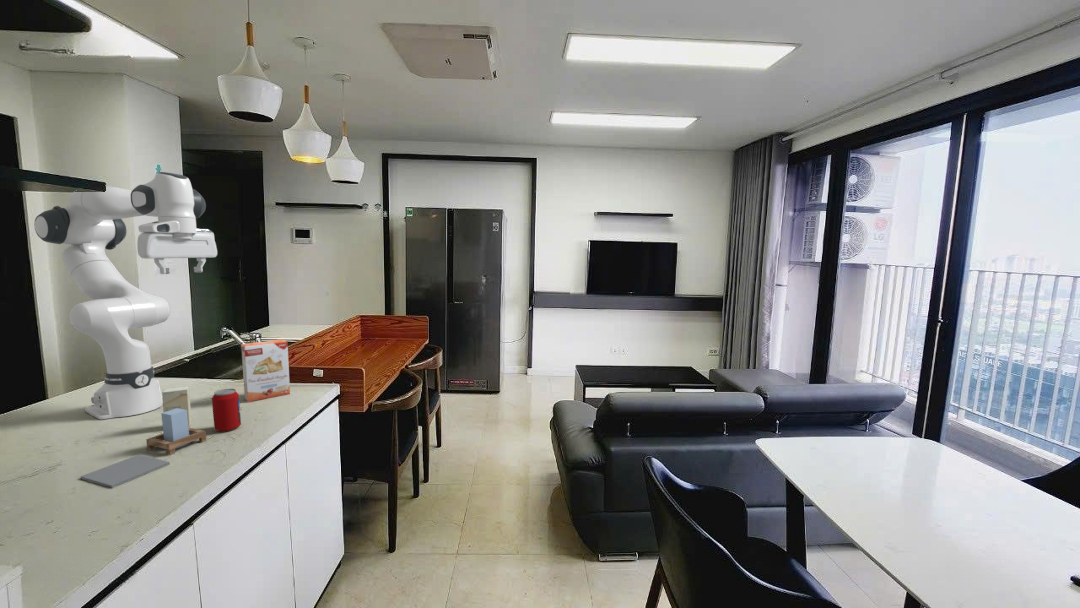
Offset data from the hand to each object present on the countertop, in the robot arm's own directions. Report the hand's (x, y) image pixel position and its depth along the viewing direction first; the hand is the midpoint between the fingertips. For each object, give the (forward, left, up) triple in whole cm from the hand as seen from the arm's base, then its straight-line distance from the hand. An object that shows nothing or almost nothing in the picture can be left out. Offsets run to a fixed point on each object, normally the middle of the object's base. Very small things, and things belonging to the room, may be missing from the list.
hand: (182, 273), depth 133 cm
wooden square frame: (+12, -13, -48) cm, 51 cm away
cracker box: (-1, +26, -48) cm, 55 cm away
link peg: (+12, -13, -48) cm, 51 cm away
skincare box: (-2, -4, -48) cm, 48 cm away
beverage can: (+14, 0, -48) cm, 50 cm away
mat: (+16, -27, -48) cm, 57 cm away
